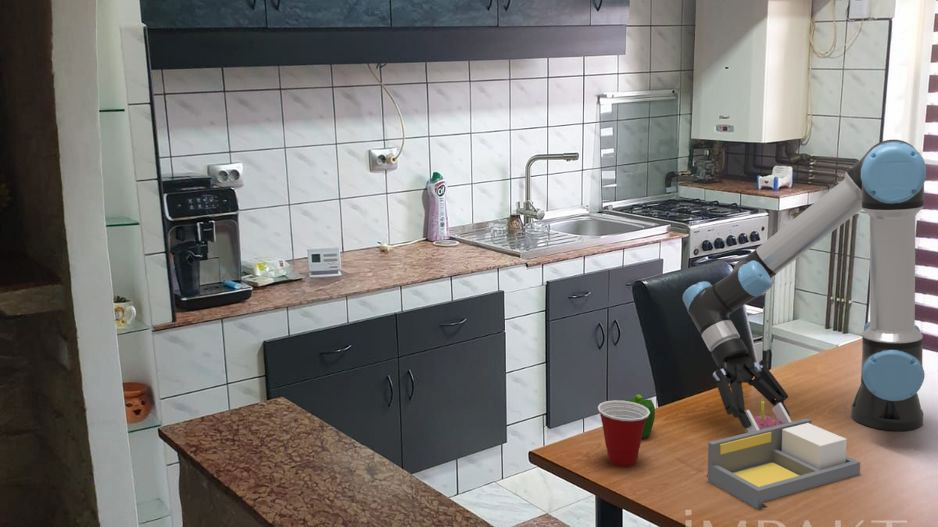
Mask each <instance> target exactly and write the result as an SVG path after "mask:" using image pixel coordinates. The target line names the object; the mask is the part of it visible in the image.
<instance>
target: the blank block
mask: <svg viewBox="0 0 938 527" xmlns="http://www.w3.org/2000/svg"><path fill="white" fill-rule="evenodd" d="M847 440H848V439H847V438H846V437H843V436H842V435H841V436H840V435H838V434H836V433H834V432H831V431H829V430H826V429H824V428H821V427H819V426H816V425H815V424H812V423H811V424H810V423H806V424H801V425H797V426H793V427H789V428H785V429H782V452H784V453H786V454H788V455H790V456H792V457H794V458H796V459H799V460H801V461H803V462H805V463H807V464H809V465H811V466H813V467H815V468H818V469H820V470H822V469H825V468H829V467H833V466H836V465H840V464H843V463H846V456H847V444H848V443H847V442H848V441H847Z"/></svg>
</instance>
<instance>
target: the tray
mask: <svg viewBox="0 0 938 527" xmlns="http://www.w3.org/2000/svg"><path fill="white" fill-rule="evenodd" d="M806 423H810V424H812V419H809V418H808V417H806V418H803V419H798V420H795V421H792V422H790V423H786V424H782V425H777V426H773V427H769V428H765V429H761V430H757V431H753V432H749V433H746V432H744V433H741V434H737V435H733V436H729V437H724V438H720V439H717V440H713V441H708V443H707V444H708V448H707V482H708V483H710V484H713V485H714V486H716V487H718V488H720V489H721V490H722V491H725V492H726V493H728V494H730V495H731V496H733V497H735V498H737V499H738V500H740V501H742V502H744V503H746V504H747V505H749V506H751V507H752V508H754V509H756V510H760V509H764V508H768V506H767V505H766V504H763V503H765V502H769V501H773V500H777V499H779V498H782V497H787V496H790V495H794V494H797V493H800V492H803V491H807V490H811V489H814V488H817V487H820V486H824V485H827V484H831V483H834V482H839V481H841V480H845V479H849V478H852V477H857V476H859V475H860V474H861V461H858V460H856V459H853V458H851V457H849V456H847V455H846V463H843V464H840V465H836V466H833V467H829V468H825V469H822V470H820V469H818V468H815V467H813V466H811V465H809V464H807V463H805V462H803V461H801V460H799V459H796V458H794V457H792V456H790V455H788V454H786V453H784V452H782V429H785V428H789V427H793V426H797V425H801V424H806Z"/></svg>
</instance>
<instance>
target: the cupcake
mask: <svg viewBox="0 0 938 527" xmlns="http://www.w3.org/2000/svg"><path fill="white" fill-rule="evenodd" d="M760 407H761V408H760V412H761V413H760V414H759V415H756V416H753V418H754V420H755V422H756V424H757V426H758V427H759V429H760V430H761V429H765V428H769V427H773V426H777V425H782V423H781V421H779V420H778V419H777V417H773V416H771V415H767V414H766V413H765V401H764V398H761V401H760ZM743 430H744V433H749V432H748V431H747V429H745V428H744V427H743Z"/></svg>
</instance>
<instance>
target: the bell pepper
mask: <svg viewBox="0 0 938 527" xmlns="http://www.w3.org/2000/svg"><path fill="white" fill-rule="evenodd" d="M620 401H628V402H634V403H637V404H640V405H643V406H644V407H646V408H648V409H649V411H650V414H649V416H648V418H647V419H646V421H645V425H644V428H643V433H642V439H645V438H648V436H649V435H650V433H651V432H652V430H653V427H654V423H655V418H656V415H655V414H656V409H655V408H656V406H655V404H654V403H653V402H654V401H653V400H652V399H644V398H643V396H642V395H641V394H636V395H635V396H634V397H631V399H629V398H628V399H627V398H621V399H620Z"/></svg>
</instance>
